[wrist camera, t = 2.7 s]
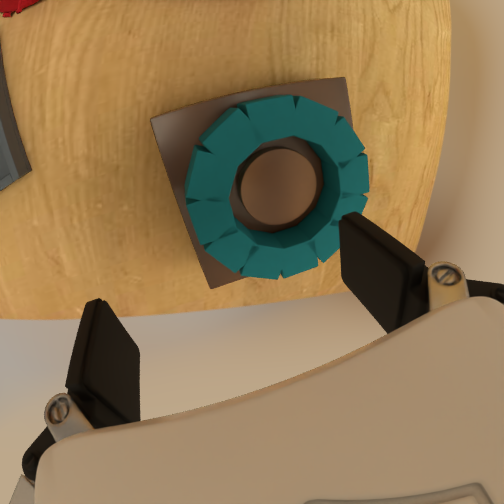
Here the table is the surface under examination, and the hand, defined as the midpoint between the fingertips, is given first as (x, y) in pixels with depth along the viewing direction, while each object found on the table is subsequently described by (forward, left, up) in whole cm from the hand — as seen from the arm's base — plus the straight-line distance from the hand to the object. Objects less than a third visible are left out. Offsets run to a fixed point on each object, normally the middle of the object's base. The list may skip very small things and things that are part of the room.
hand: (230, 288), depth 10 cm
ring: (-5, 0, -8) cm, 9 cm away
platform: (-5, 0, -12) cm, 13 cm away
